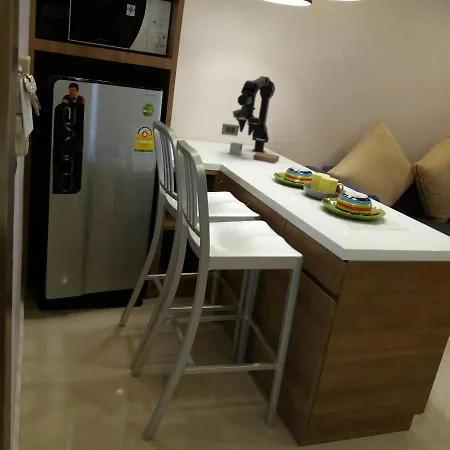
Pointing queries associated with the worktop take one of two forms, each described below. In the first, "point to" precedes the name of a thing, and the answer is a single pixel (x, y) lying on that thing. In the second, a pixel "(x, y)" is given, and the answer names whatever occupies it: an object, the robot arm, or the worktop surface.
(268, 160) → the walnut box
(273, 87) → the robot arm
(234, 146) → the block
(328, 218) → the worktop surface
